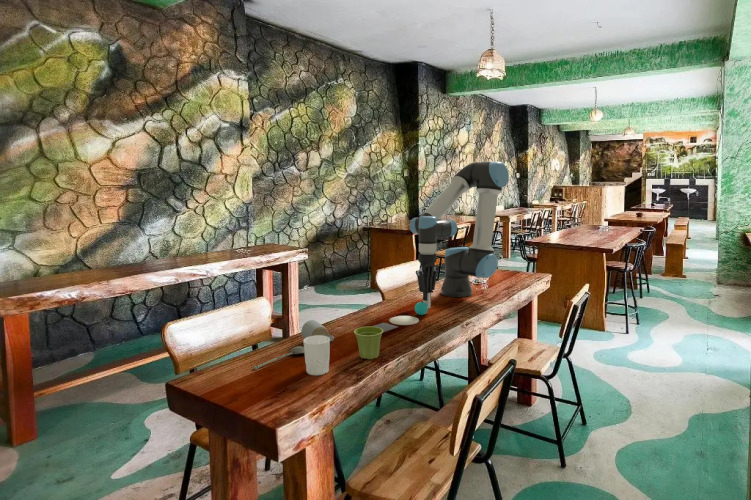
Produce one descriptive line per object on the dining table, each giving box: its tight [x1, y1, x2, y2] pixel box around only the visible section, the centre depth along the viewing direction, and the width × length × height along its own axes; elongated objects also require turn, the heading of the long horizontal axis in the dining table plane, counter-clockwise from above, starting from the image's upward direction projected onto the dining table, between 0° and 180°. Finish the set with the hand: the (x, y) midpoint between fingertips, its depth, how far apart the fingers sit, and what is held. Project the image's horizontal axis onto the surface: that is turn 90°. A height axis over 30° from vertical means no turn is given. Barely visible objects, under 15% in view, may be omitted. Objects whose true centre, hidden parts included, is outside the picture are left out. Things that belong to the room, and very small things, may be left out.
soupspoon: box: [253, 345, 304, 371], centre depth 155 cm, size 22×3×7 cm
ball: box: [414, 301, 429, 316], centre depth 201 cm, size 6×6×6 cm
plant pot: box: [353, 326, 384, 360], centre depth 155 cm, size 9×9×9 cm
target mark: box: [388, 315, 420, 326], centre depth 193 cm, size 12×12×1 cm
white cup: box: [302, 335, 331, 376], centre depth 144 cm, size 8×8×10 cm
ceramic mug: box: [300, 319, 335, 342], centre depth 169 cm, size 11×8×8 cm
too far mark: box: [371, 322, 399, 333], centre depth 185 cm, size 8×8×1 cm
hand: (426, 307), depth 204 cm, fingers closed
